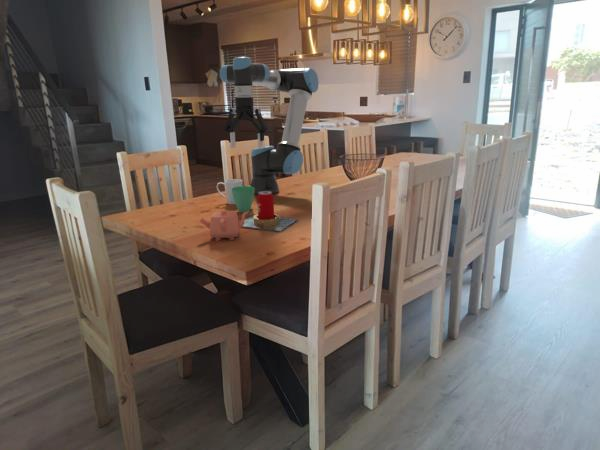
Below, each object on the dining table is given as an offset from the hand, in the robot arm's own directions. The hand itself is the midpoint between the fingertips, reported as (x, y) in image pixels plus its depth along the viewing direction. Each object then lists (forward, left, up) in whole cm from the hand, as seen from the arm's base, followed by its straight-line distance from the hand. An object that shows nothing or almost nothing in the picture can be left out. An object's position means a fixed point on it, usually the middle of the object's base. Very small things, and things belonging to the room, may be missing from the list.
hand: (246, 148), depth 188 cm
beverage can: (+18, +18, -26) cm, 37 cm away
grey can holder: (+18, +18, -27) cm, 37 cm away
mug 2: (+2, -1, -27) cm, 27 cm away
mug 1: (-6, -14, -27) cm, 31 cm away
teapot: (+38, +12, -27) cm, 48 cm away
